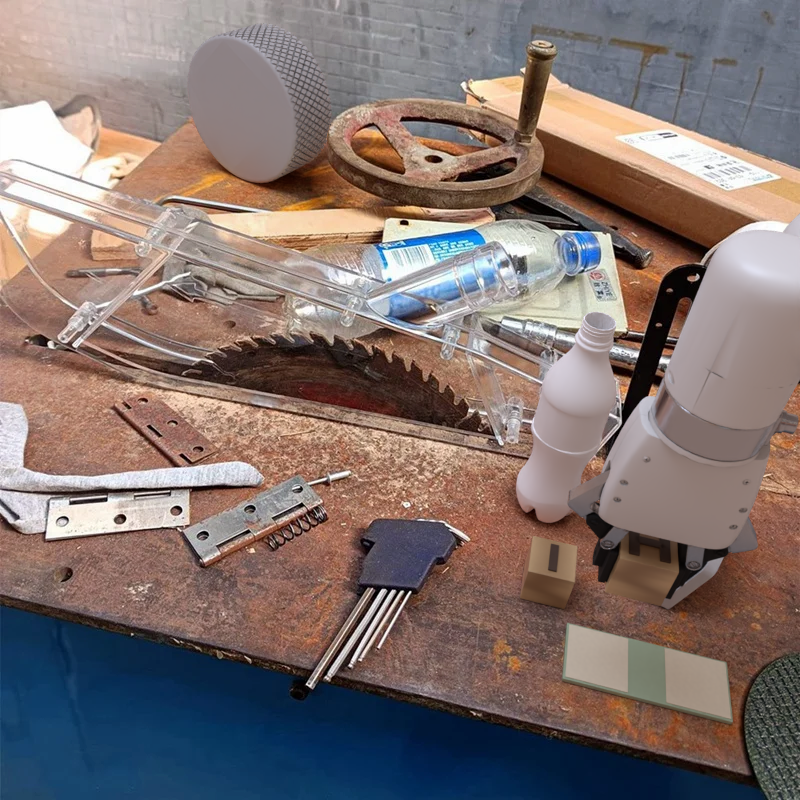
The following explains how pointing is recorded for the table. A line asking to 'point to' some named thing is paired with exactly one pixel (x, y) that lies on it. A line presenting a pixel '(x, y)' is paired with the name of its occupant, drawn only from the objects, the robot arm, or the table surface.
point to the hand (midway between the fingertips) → (634, 575)
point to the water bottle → (569, 420)
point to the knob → (259, 101)
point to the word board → (647, 673)
